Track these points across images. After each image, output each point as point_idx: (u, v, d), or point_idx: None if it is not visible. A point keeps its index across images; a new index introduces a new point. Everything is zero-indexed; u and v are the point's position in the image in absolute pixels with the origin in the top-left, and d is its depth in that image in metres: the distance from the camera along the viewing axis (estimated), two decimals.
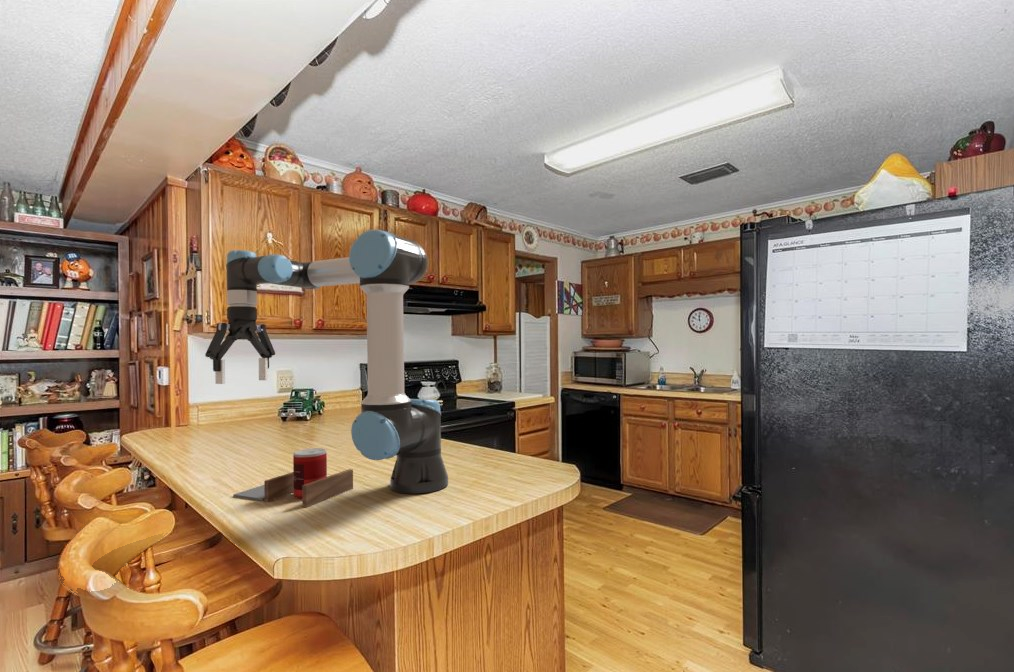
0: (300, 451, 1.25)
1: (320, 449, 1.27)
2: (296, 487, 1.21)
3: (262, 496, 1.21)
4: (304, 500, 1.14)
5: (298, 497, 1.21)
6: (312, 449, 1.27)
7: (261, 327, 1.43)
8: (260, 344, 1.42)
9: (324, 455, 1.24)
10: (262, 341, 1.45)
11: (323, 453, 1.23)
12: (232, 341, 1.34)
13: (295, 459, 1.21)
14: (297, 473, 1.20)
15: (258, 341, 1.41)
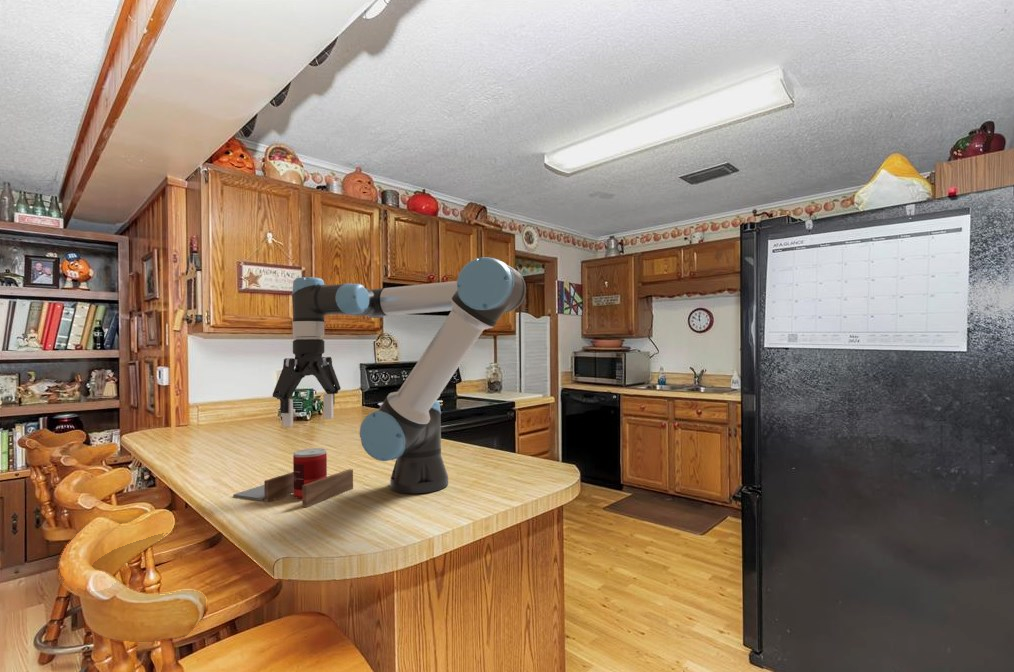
0: (300, 451, 1.25)
1: (320, 449, 1.27)
2: (296, 487, 1.21)
3: (262, 496, 1.21)
4: (304, 500, 1.14)
5: (298, 497, 1.21)
6: (312, 449, 1.27)
7: (327, 360, 1.30)
8: (326, 379, 1.29)
9: (324, 455, 1.24)
10: (327, 375, 1.31)
11: (323, 453, 1.23)
12: (300, 378, 1.20)
13: (295, 459, 1.21)
14: (297, 473, 1.20)
15: (324, 376, 1.28)
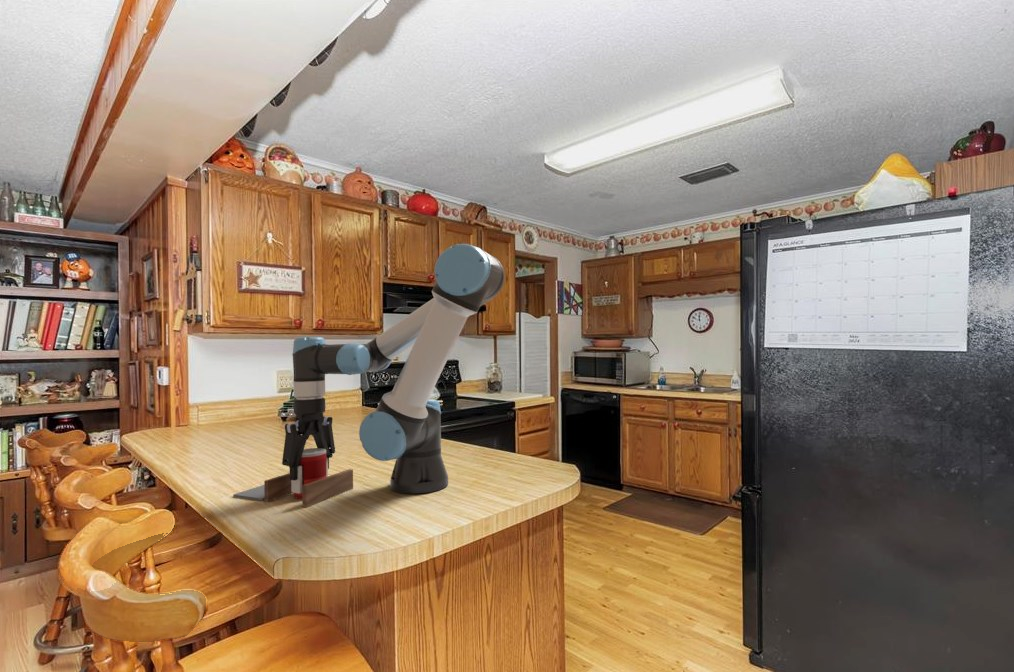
0: None
1: (320, 449, 1.27)
2: None
3: (262, 496, 1.21)
4: (304, 500, 1.14)
5: (298, 497, 1.21)
6: (312, 449, 1.27)
7: (328, 420, 1.29)
8: (323, 441, 1.27)
9: (324, 455, 1.24)
10: (324, 436, 1.30)
11: (323, 453, 1.23)
12: (304, 441, 1.21)
13: None
14: None
15: (322, 437, 1.27)
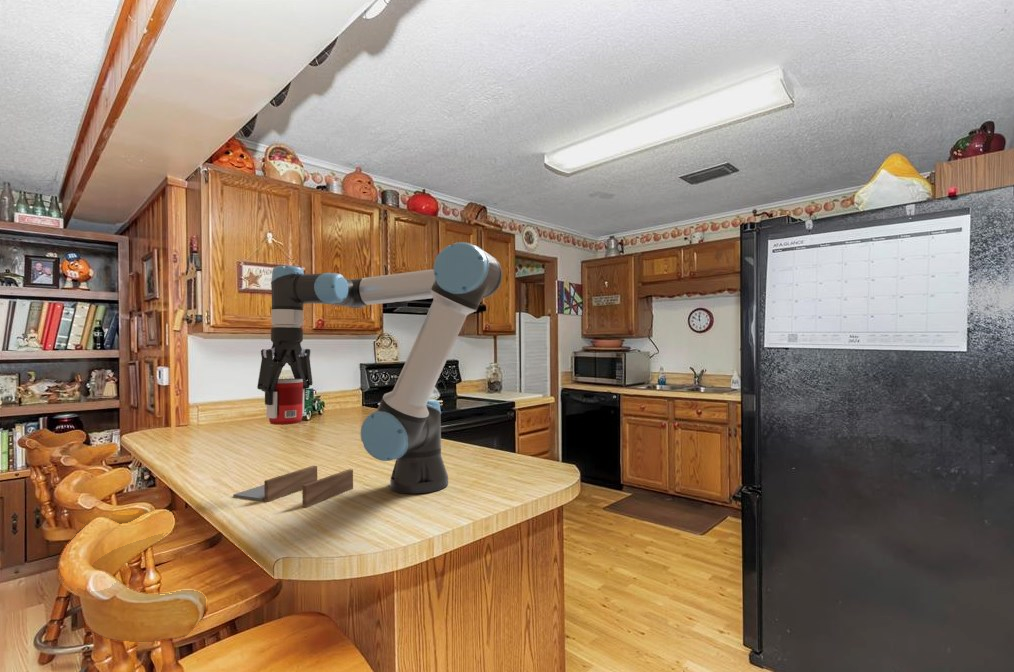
0: None
1: (297, 379, 1.29)
2: None
3: (262, 496, 1.21)
4: (304, 500, 1.14)
5: (273, 422, 1.22)
6: (289, 379, 1.29)
7: (305, 351, 1.31)
8: (300, 371, 1.29)
9: (300, 383, 1.25)
10: (302, 367, 1.31)
11: (299, 381, 1.25)
12: (280, 368, 1.23)
13: None
14: None
15: (299, 367, 1.28)
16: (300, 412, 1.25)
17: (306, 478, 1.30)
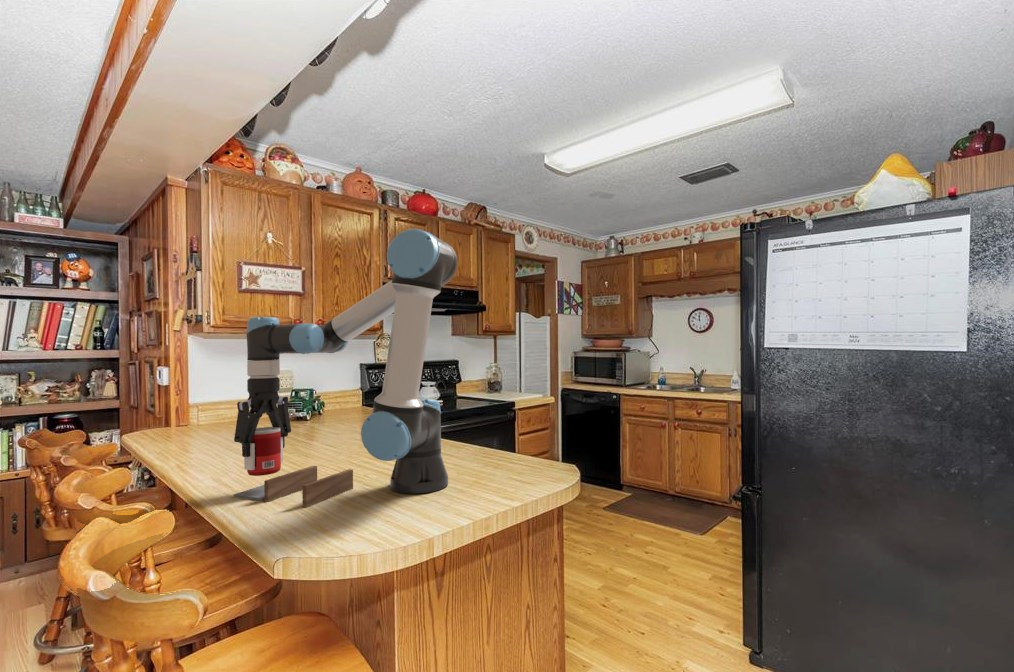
0: None
1: (275, 428, 1.29)
2: None
3: (262, 496, 1.21)
4: (304, 500, 1.14)
5: (251, 474, 1.23)
6: (267, 428, 1.30)
7: (283, 399, 1.31)
8: (278, 420, 1.29)
9: (277, 433, 1.26)
10: (280, 415, 1.32)
11: (276, 431, 1.26)
12: (257, 419, 1.23)
13: None
14: None
15: (277, 416, 1.29)
16: (278, 461, 1.26)
17: (306, 478, 1.30)
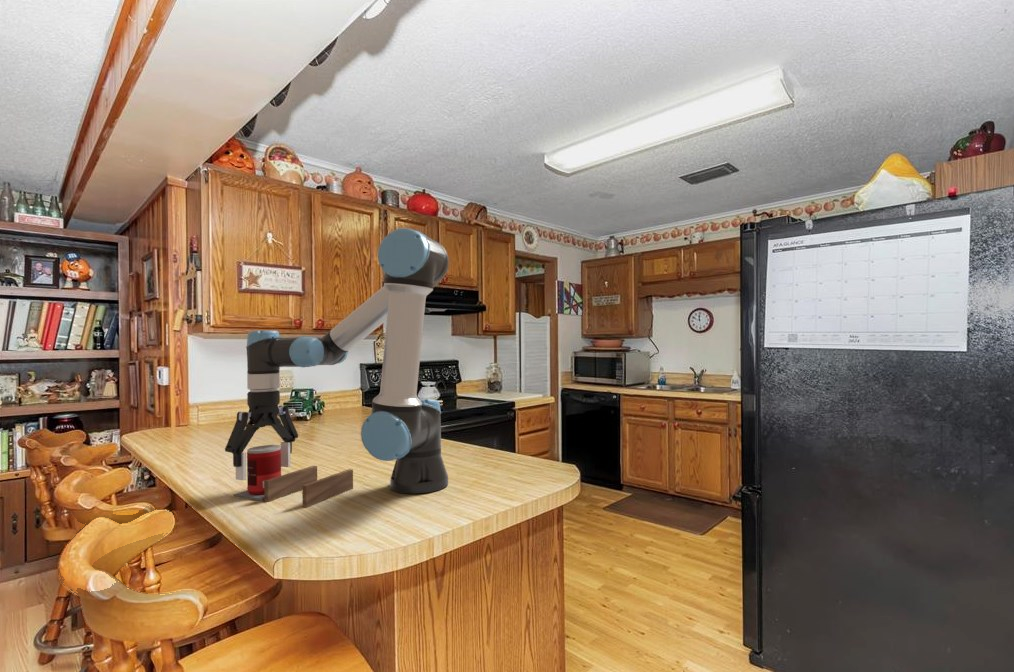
0: (255, 448, 1.27)
1: (275, 446, 1.29)
2: (249, 483, 1.23)
3: (262, 496, 1.21)
4: (304, 500, 1.14)
5: (251, 493, 1.23)
6: (267, 446, 1.29)
7: (283, 409, 1.31)
8: (282, 429, 1.30)
9: (278, 451, 1.26)
10: (284, 424, 1.33)
11: (277, 449, 1.26)
12: (253, 431, 1.22)
13: (248, 455, 1.23)
14: (250, 469, 1.23)
15: (280, 426, 1.30)
16: None
17: (306, 478, 1.30)
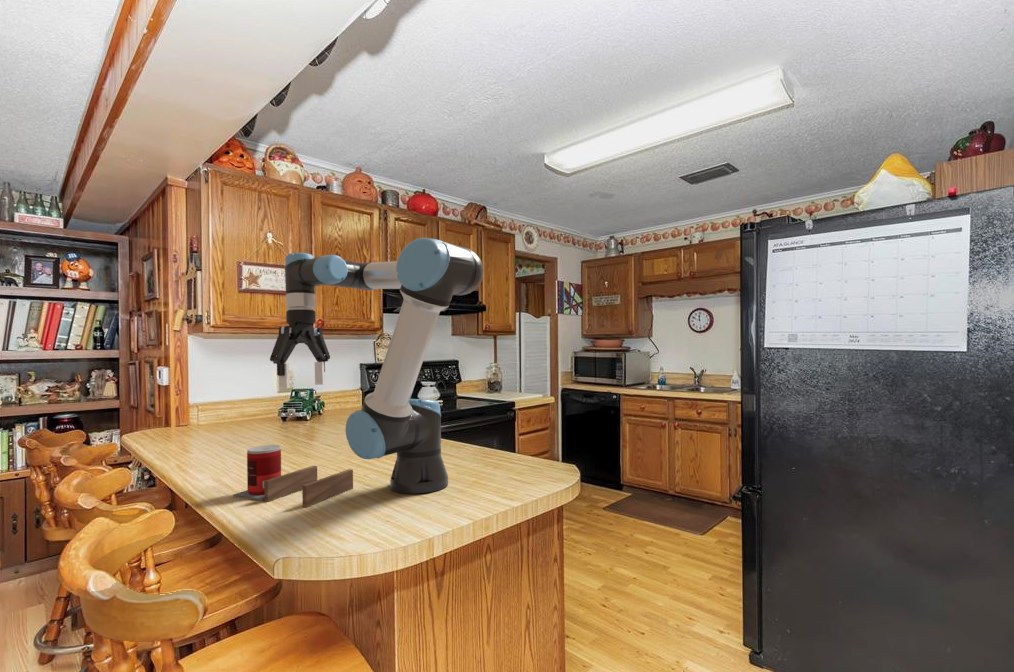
0: (255, 448, 1.27)
1: (275, 446, 1.29)
2: (249, 483, 1.23)
3: (262, 496, 1.21)
4: (304, 500, 1.14)
5: (251, 493, 1.23)
6: (267, 446, 1.29)
7: (317, 330, 1.41)
8: (317, 348, 1.40)
9: (278, 452, 1.26)
10: (318, 345, 1.43)
11: (277, 450, 1.26)
12: (294, 345, 1.32)
13: (248, 455, 1.23)
14: (250, 469, 1.23)
15: (316, 345, 1.39)
16: None
17: (306, 478, 1.30)
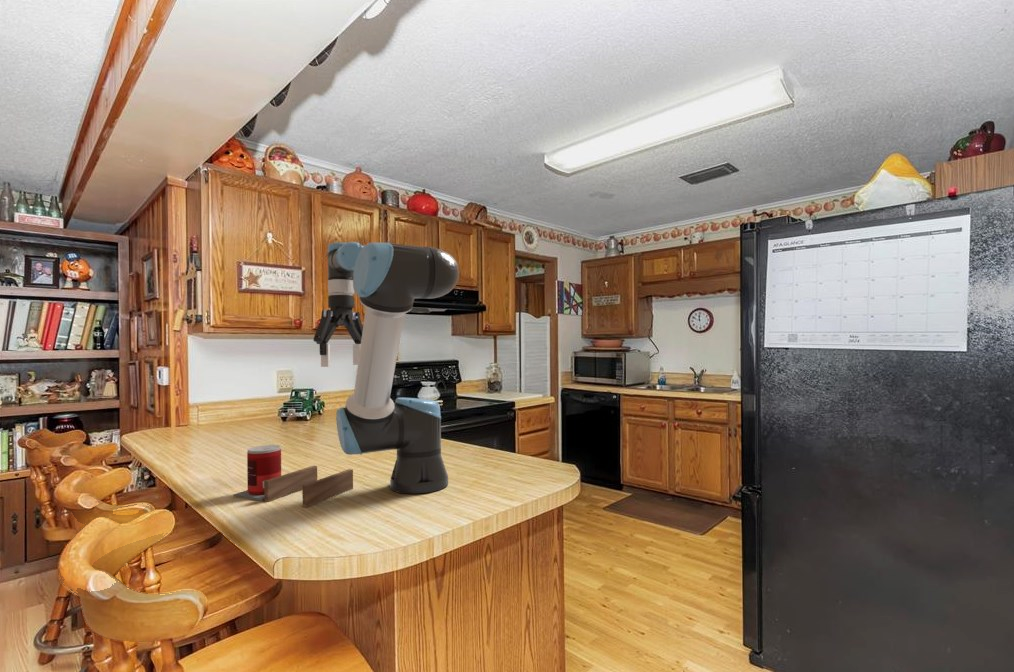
0: (255, 448, 1.27)
1: (275, 446, 1.29)
2: (249, 483, 1.23)
3: (262, 496, 1.21)
4: (304, 500, 1.14)
5: (251, 493, 1.23)
6: (267, 446, 1.29)
7: (356, 315, 1.52)
8: (355, 331, 1.51)
9: (278, 452, 1.26)
10: (356, 328, 1.54)
11: (277, 450, 1.26)
12: (335, 327, 1.43)
13: (248, 455, 1.23)
14: (250, 469, 1.23)
15: (354, 328, 1.51)
16: None
17: (306, 478, 1.30)
